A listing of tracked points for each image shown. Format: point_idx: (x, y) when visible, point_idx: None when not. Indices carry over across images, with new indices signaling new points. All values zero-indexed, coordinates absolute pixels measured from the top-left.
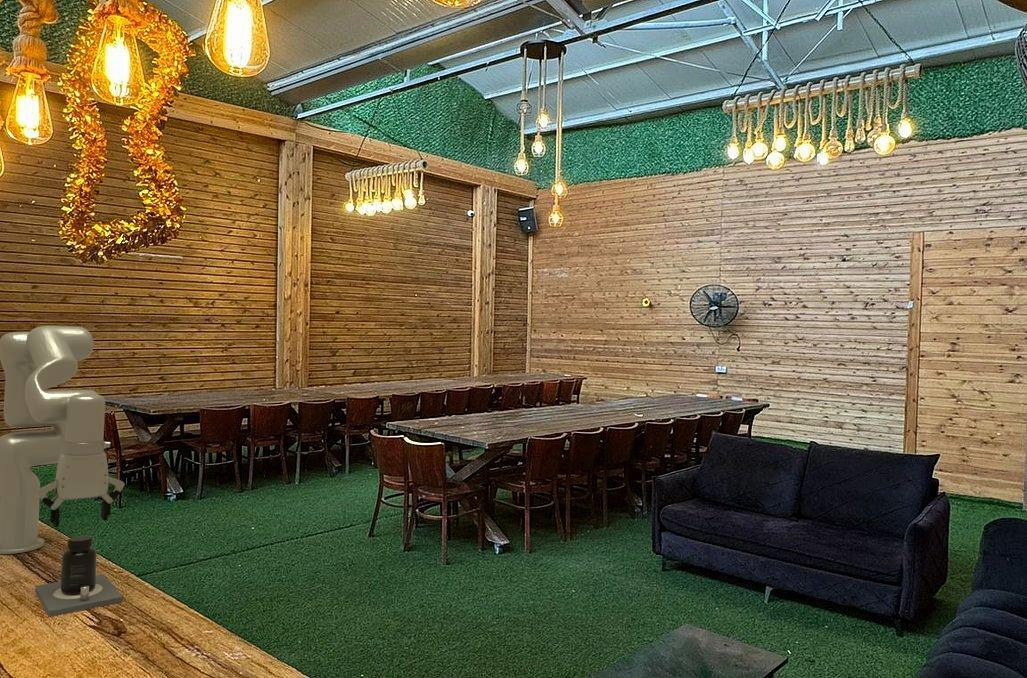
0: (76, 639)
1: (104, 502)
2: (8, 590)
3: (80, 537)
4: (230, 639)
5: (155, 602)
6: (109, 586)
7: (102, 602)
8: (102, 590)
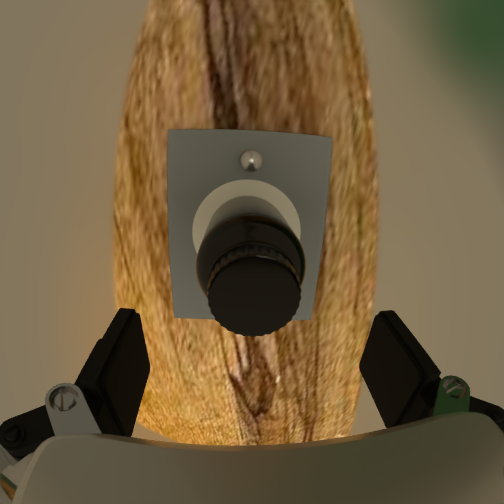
0: (205, 403)
1: (408, 414)
2: (125, 95)
3: (260, 284)
4: None
5: (349, 341)
6: (314, 243)
7: None
8: None
